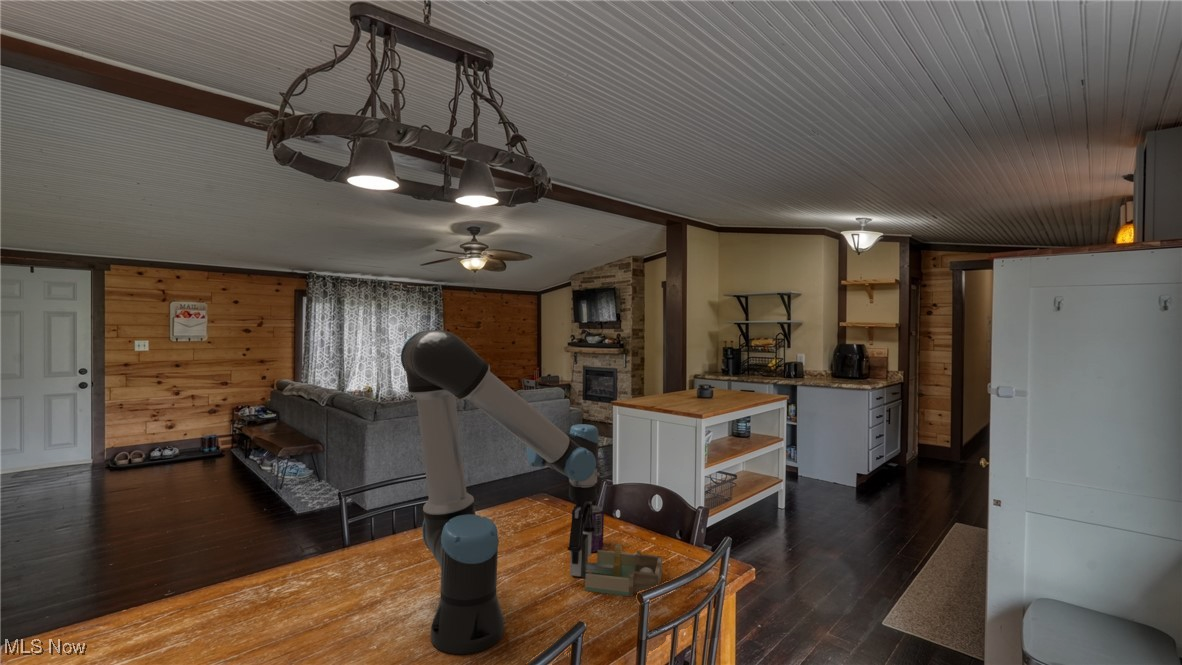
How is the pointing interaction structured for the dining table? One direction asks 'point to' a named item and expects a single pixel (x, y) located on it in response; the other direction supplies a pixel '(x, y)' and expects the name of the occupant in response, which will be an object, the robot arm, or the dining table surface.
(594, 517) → the beverage can
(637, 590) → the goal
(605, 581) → the pitch
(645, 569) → the ball
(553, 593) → the dining table surface
